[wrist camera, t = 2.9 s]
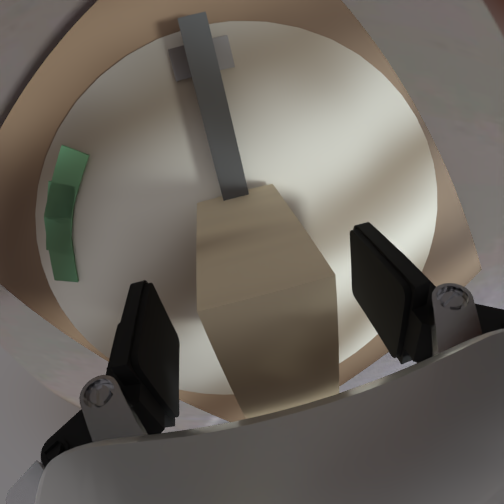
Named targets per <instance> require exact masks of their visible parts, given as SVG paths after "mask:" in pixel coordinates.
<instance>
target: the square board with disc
mask: <svg viewBox="0 0 504 504" xmlns="http://www.w3.org/2000/svg"><path fill="white" fill-rule="evenodd" d="M201 12H206V15H207V19H208V23H209V27H210V31H211V35H212V39H213V43H214V47H215V52H216V56H217V60H218V64H219V68H220V72H221V77H222V81H223V85H224V89H225V93H226V98H227V102H228V106H229V110H230V115H231V119H232V123H233V127H234V132H235V136H236V140H237V144H238V149H239V153H240V157H241V162H242V166H243V170H244V175H245V179H246V183H247V188H248V190H249V189H253V188H257V187H261V186H265V185H269V184H273V185H274V186H275V188H276V189H277V190H278V192H279V193H280V195H281V196H282V197H283V199H284V200H285V202H286V203H287V204H288V206H289V207H290V209H291V210H292V212H293V213H294V214H295V216H296V217H297V219H298V220H299V222H300V223H301V224H302V226H303V227H304V229H305V230H306V232H307V233H308V234H309V236H310V237H311V239H312V240H313V242H314V243H315V245H316V246H317V248H318V249H319V251H320V252H321V254H322V255H323V257H324V258H325V260H326V261H327V263H328V264H329V266H330V267H331V269H332V270H333V272H334V273H335V275H336V290H337V310H338V336H339V386H341V385H342V384H344V383H345V382H347V381H348V380H350V379H351V378H353V377H354V376H356V375H357V374H359V373H360V372H361V371H363V370H364V369H366V368H367V367H368V366H370V365H371V364H373V363H374V362H375V361H377V360H378V359H379V358H381V357H382V356H383V355H385V354H386V353H387V352H389V351H388V349H387V348H386V346H385V344H384V343H383V341H382V340H381V338H380V336H379V335H378V333H377V332H376V330H375V328H374V327H373V325H372V324H371V322H370V321H369V319H368V317H367V316H366V314H365V313H364V311H363V310H362V308H361V307H360V305H359V304H358V302H357V300H356V299H355V297H354V295H353V292H352V279H351V252H350V231H351V230H353V228H354V226H355V225H358V224H362V223H366V222H370V223H371V224H372V225H373V226H374V227H375V228H376V229H377V230H379V231H380V232H381V233H382V234H383V235H384V236H385V237H386V238H387V239H388V240H389V241H390V242H391V243H392V244H393V245H394V246H395V247H396V248H398V249H399V250H400V251H401V252H402V253H403V254H404V255H405V256H406V257H407V258H408V259H409V260H410V261H411V262H412V263H413V264H414V265H415V266H416V267H417V268H418V269H419V270H420V271H421V272H422V273H423V274H424V275H425V276H426V277H427V278H428V279H429V280H430V281H431V282H432V283H433V284H434V285H435V286H436V287H437V286H438V285H441V284H444V283H455V284H459V285H462V286H463V287H465V286H466V285H467V284H468V283H469V282H470V281H471V280H472V279H473V278H474V277H475V276H476V275H477V274H478V273H479V272H480V271H481V270H482V269H481V265H480V262H479V258H478V255H477V251H476V248H475V244H474V241H473V238H472V235H471V232H470V229H469V226H468V223H467V220H466V217H465V214H464V211H463V208H462V206H461V203H460V200H459V198H458V195H457V193H456V190H455V188H454V185H453V183H452V180H451V178H450V175H449V173H448V171H447V168H446V166H445V164H444V162H443V159H442V157H441V155H440V153H439V151H438V149H437V147H436V145H435V142H434V140H433V138H432V136H431V134H430V132H429V130H428V129H427V127H426V125H425V123H424V121H423V119H422V117H421V115H420V113H419V112H418V110H417V108H416V106H415V104H414V103H413V101H412V99H411V98H410V96H409V94H408V92H407V91H406V89H405V87H404V86H403V84H402V83H401V81H400V79H399V78H398V76H397V75H396V73H395V71H394V70H393V68H392V67H391V65H390V64H389V62H388V61H387V59H386V58H385V56H384V55H383V54H382V52H381V51H380V49H379V48H378V46H377V45H376V44H375V42H374V41H373V40H372V38H371V37H370V35H369V34H368V33H367V31H366V30H365V29H364V28H363V26H362V25H361V24H360V22H359V21H358V20H357V19H356V17H355V16H354V15H353V14H352V12H351V11H350V10H349V9H348V8H347V6H346V5H345V4H344V3H343V2H342V1H341V0H98V1H97V2H96V3H95V4H94V5H93V6H92V7H91V8H90V9H89V10H88V11H87V12H86V13H85V14H84V15H83V16H82V17H81V18H80V19H79V20H78V21H77V22H76V23H75V25H74V26H73V27H72V28H71V29H70V30H69V31H68V32H67V34H66V35H65V36H64V37H63V38H62V40H61V41H60V42H59V43H58V44H57V46H56V47H55V48H54V49H53V51H52V52H51V53H50V54H49V56H48V57H47V58H46V59H45V61H44V62H43V63H42V65H41V66H40V68H39V69H38V70H37V72H36V73H35V74H34V76H33V77H32V79H31V80H30V82H29V83H28V84H27V86H26V87H25V89H24V90H23V92H22V94H21V95H20V97H19V98H18V100H17V101H16V103H15V105H14V106H13V108H12V109H11V111H10V113H9V114H8V116H7V118H6V120H5V121H4V123H3V125H2V127H1V129H0V284H1V285H2V286H3V287H5V288H6V289H7V290H8V291H9V292H11V293H12V294H13V295H14V296H15V297H17V298H18V299H19V300H20V301H22V302H23V303H24V304H25V305H27V306H28V307H29V308H31V309H32V310H33V311H34V312H36V313H37V314H38V315H40V316H41V317H42V318H44V319H45V320H46V321H48V322H49V323H51V324H52V325H53V326H55V327H56V328H58V329H59V330H60V331H62V332H63V333H65V334H66V335H68V336H69V337H71V338H72V339H74V340H75V341H77V342H78V343H80V344H81V345H83V346H84V347H86V348H87V349H89V350H91V351H92V352H94V353H95V354H97V355H99V356H100V357H102V358H103V359H105V360H107V361H108V362H109V358H110V354H111V349H112V345H113V341H114V337H115V333H116V329H117V325H118V323H120V321H121V318H122V314H123V310H124V306H125V302H126V298H127V295H128V291H129V288H130V285H131V284H132V283H136V282H139V281H143V280H146V281H147V282H148V283H153V285H154V287H155V289H156V291H157V293H158V295H159V298H160V300H161V302H162V304H163V306H164V308H165V310H166V312H167V314H168V316H169V318H170V320H171V322H172V324H173V326H174V328H175V330H176V332H177V335H178V337H179V342H180V352H179V400H181V401H183V402H186V403H188V404H190V405H192V406H194V407H196V408H199V409H201V410H203V411H205V412H208V413H210V414H212V415H215V416H217V417H220V418H222V419H224V420H227V421H229V422H234V421H239V420H243V419H246V418H245V416H244V414H243V412H242V410H241V408H240V406H239V404H238V402H237V400H236V398H235V395H234V393H233V391H232V389H231V387H230V385H229V383H228V381H227V379H226V376H225V374H224V372H223V370H222V368H221V366H220V363H219V361H218V359H217V357H216V354H215V352H214V350H213V348H212V345H211V343H210V341H209V339H208V336H207V334H206V332H205V329H204V327H203V325H202V322H201V320H200V318H199V315H198V313H197V287H196V234H197V203H199V202H203V201H206V200H210V199H214V198H218V197H221V196H222V193H221V189H220V185H219V182H218V178H217V174H216V170H215V166H214V162H213V159H212V155H211V151H210V147H209V143H208V139H207V135H206V132H205V128H204V124H203V120H202V116H201V112H200V108H199V104H198V100H197V96H196V92H195V88H194V84H193V80H192V76H191V72H190V68H189V64H188V60H187V56H186V52H185V48H184V44H183V40H182V35H181V31H180V27H179V23H178V19H177V18H180V17H184V16H188V15H192V14H197V13H201Z"/></svg>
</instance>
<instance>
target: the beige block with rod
mask: <svg viewBox="0 0 504 504" xmlns="http://www.w3.org/2000/svg"><path fill="white" fill-rule="evenodd" d="M177 19H178V23H179V27H180V31H181V35H182V40H183V44H184V48H185V52H186V56H187V60H188V64H189V68H190V72H191V76H192V80H193V84H194V88H195V92H196V96H197V100H198V104H199V108H200V112H201V116H202V120H203V124H204V128H205V132H206V135H207V139H208V143H209V147H210V151H211V155H212V159H213V162H214V166H215V170H216V174H217V178H218V182H219V185H220V189H221V193H222V196H221V197H218V198H214V199H210V200H206V201H203V202H199V203H197V234H196V287H197V313H198V315H199V318H200V320H201V322H202V325H203V327H204V329H205V332H206V334H207V336H208V339H209V341H210V343H211V345H212V348H213V350H214V352H215V354H216V357H217V359H218V361H219V363H220V366H221V368H222V370H223V372H224V374H225V376H226V379H227V381H228V383H229V385H230V387H231V389H232V391H233V393H234V395H235V398H236V400H237V402H238V404H239V406H240V408H241V410H242V412H243V414H244V416H245V418H246V419H248V418H252V417H257V416H261V415H265V414H269V413H273V412H277V411H281V410H285V409H289V408H292V407H296V406H300V405H303V404H307V403H310V402H313V401H317V400H320V399H323V398H326V397H329V396H333V395H336V394H339V336H338V310H337V290H336V275H335V273H334V272H333V270H332V269H331V267H330V266H329V264H328V263H327V261H326V260H325V258H324V257H323V255H322V254H321V252H320V251H319V249H318V248H317V246H316V245H315V243H314V242H313V240H312V239H311V237H310V236H309V234H308V233H307V232H306V230H305V229H304V227H303V226H302V224H301V223H300V222H299V220H298V219H297V217H296V216H295V214H294V213H293V212H292V210H291V209H290V207H289V206H288V204H287V203H286V202H285V200H284V199H283V197H282V196H281V195H280V193H279V192H278V190H277V189H276V188H275V186H274V185H273V184H269V185H265V186H261V187H257V188H253V189H249V190H248V188H247V183H246V179H245V175H244V170H243V166H242V162H241V157H240V153H239V149H238V144H237V140H236V136H235V132H234V127H233V123H232V119H231V115H230V110H229V106H228V102H227V98H226V93H225V89H224V85H223V81H222V77H221V72H220V68H219V64H218V60H217V56H216V52H215V47H214V43H213V39H212V35H211V31H210V27H209V23H208V19H207V15H206V12H201V13H197V14H192V15H188V16H184V17H180V18H177Z"/></svg>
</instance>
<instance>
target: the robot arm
mask: <svg viewBox="0 0 504 504" xmlns="http://www.w3.org/2000/svg"><path fill="white" fill-rule="evenodd" d="M350 252H351V279H352V292H353V295H354V297H355V299H356V300H357V302H358V304H359V305H360V307H361V308H362V310H363V311H364V313H365V314H366V316H367V317H368V319H369V321H370V322H371V324H372V325H373V327H374V328H375V330H376V332H377V333H378V335H379V336H380V338H381V340H382V341H383V343H384V344H385V346H386V348H387V349H388V351H389V353H390V354H391V356H392V357H393V358H396V357H397V358H398V360H399V361H400V363H401V364H404V363H406V362H408V361H411V360H413V361H414V362H417V364H414V365H412V366H410V367H408V368H405V369H403V370H400V371H398V372H396V373H393V374H391V375H388V376H386V377H383V378H380V379H378V380H375V381H373V382H370V383H367V384H364V385H362V386H359V387H356V388H353V389H350V390H347V391H345V392H342V393H339V394H336V395H333V396H329V397H326V398H323V399H320V400H317V401H313V402H310V403H307V404H303V405H300V406H296V407H292V408H289V409H285V410H281V411H277V412H273V413H269V414H265V415H261V416H257V417H252V418H248V419H243V420H239V421H234V422H229V423H224V424H219V425H213V426H208V427H202V428H196V429H189V430H182V431H175V432H168V433H161V432H162V431H163V430H164V429H165V427H172V426H175V417H178V416H179V352H180V342H179V337H178V335H177V332H176V330H175V328H174V326H173V324H172V322H171V320H170V318H169V316H168V314H167V312H166V310H165V308H164V306H163V304H162V302H161V300H160V298H159V295H158V293H157V291H156V289H155V287H154V285H153V283H148V282H147V281H146V280H143V281H139V282H136V283H132V284H131V285H130V288H129V291H128V295H127V298H126V302H125V306H124V310H123V314H122V318H121V321H120V323H118V325H117V329H116V333H115V337H114V341H113V345H112V349H111V354H110V358H109V363H108V367H107V372H106V375H101V376H97V377H95V378H93V379H91V380H90V381H89V382H87V384H86V385H85V386H84V387H83V389H82V391H81V393H80V397H79V399H80V405H81V408H82V409H81V410H80V411H79V412H78V413H77V414H76V415H75V416H74V417H72V418H71V419H70V420H69V421H68V422H67V423H66V424H65V425H64V426H62V427H61V428H60V429H59V430H58V431H57V432H56V433H55V434H54V435H53V436H51V437H50V438H49V439H48V440H47V441H46V443H45V444H44V446H43V448H42V451H41V462H38V461H36V462H35V463H34V464H33V465H32V466H31V467H30V468H29V469H28V470H27V471H26V472H25V473H24V475H23V476H22V477H21V478H20V479H19V480H18V481H17V482H16V483H15V484H14V485H13V486H12V487H11V489H10V490H9V491H8V493H7V497H6V504H504V310H503V309H498V308H493V307H488V306H483V305H479V304H475V303H474V299H473V296H472V294H471V292H470V291H469V290H468V289H467V288H465V287H463V286H462V285H459V284H455V283H444V284H441V285H438V286H437V287H436V286H435V285H434V284H433V283H432V282H431V281H430V280H429V279H428V278H427V277H426V276H425V275H424V274H423V273H422V272H421V271H420V270H419V269H418V268H417V267H416V266H415V265H414V264H413V263H412V262H411V261H410V260H409V259H408V258H407V257H406V256H405V255H404V254H403V253H402V252H401V251H400V250H399V249H398V248H396V247H395V246H394V245H393V244H392V243H391V242H390V241H389V240H388V239H387V238H386V237H385V236H384V235H383V234H382V233H381V232H380V231H379V230H377V229H376V228H375V227H374V226H373V225H372V224H371V223H370V222H366V223H362V224H358V225H355V226H354V228H353V230H351V231H350Z"/></svg>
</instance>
